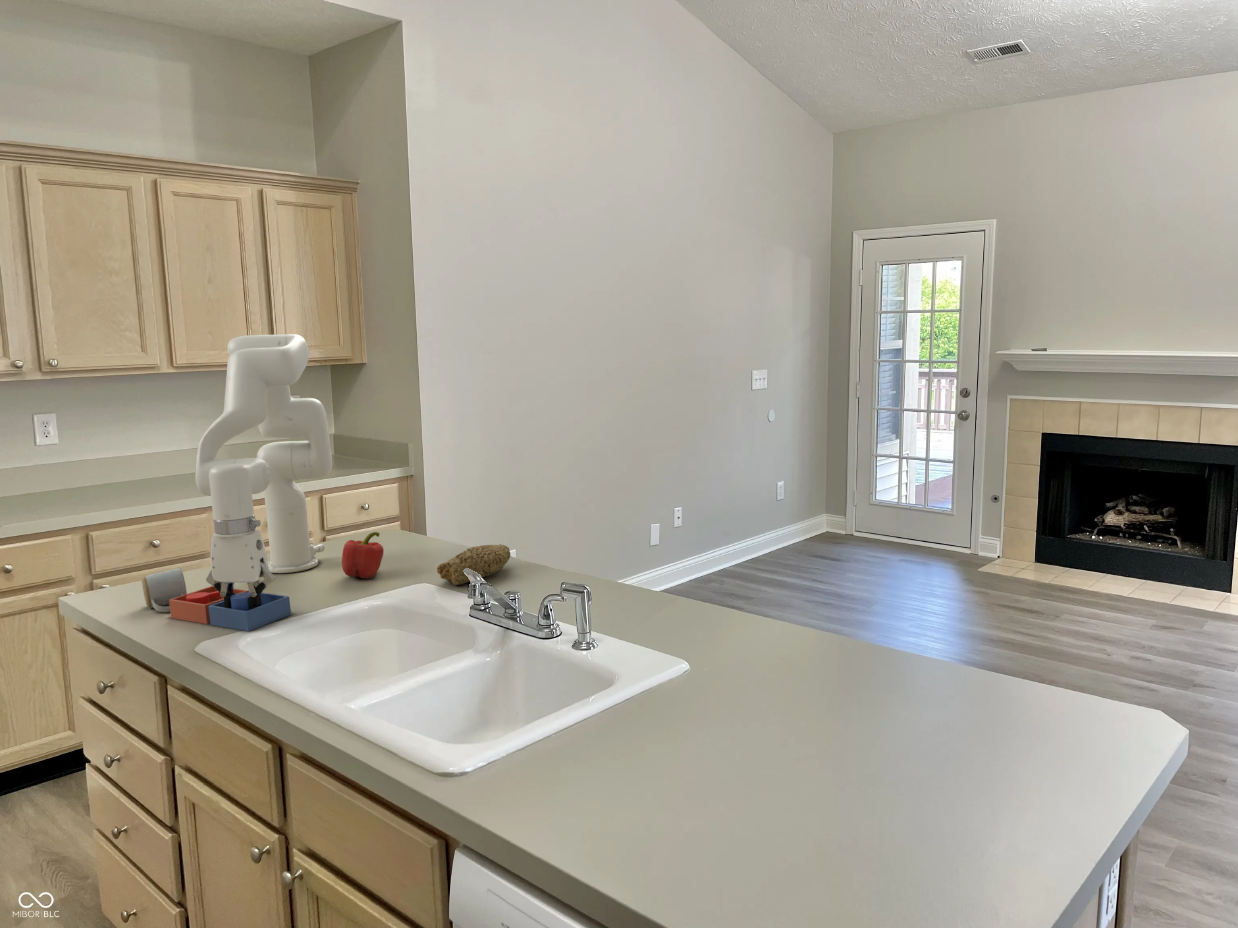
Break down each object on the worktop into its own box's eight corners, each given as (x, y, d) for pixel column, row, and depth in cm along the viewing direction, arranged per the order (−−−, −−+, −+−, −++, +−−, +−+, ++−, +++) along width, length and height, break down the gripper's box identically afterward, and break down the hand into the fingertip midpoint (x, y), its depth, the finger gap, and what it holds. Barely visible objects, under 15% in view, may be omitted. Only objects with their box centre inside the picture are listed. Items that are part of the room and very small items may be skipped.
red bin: (215, 602, 201) (213, 585, 200) (250, 608, 196) (248, 590, 195) (171, 617, 191) (168, 599, 190) (206, 624, 186) (204, 605, 185)
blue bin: (253, 608, 195) (252, 590, 195) (291, 614, 190) (289, 596, 190) (210, 624, 185) (208, 605, 185) (248, 631, 180) (246, 611, 180)
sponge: (463, 594, 204) (531, 558, 216) (452, 562, 202) (520, 528, 215) (434, 593, 214) (500, 559, 226) (423, 563, 212) (490, 530, 225)
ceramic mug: (143, 604, 201) (139, 570, 200) (184, 596, 206) (180, 564, 204) (149, 617, 193) (145, 582, 191) (191, 609, 197) (188, 574, 196)
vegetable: (369, 567, 225) (365, 528, 224) (397, 573, 219) (394, 532, 218) (332, 578, 216) (328, 537, 215) (360, 584, 210) (356, 542, 209)
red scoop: (191, 618, 189) (189, 599, 188) (184, 613, 192) (182, 595, 191) (236, 607, 195) (235, 589, 194) (229, 603, 198) (227, 585, 197)
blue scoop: (248, 617, 183) (246, 598, 182) (227, 617, 183) (225, 598, 183) (271, 603, 192) (269, 585, 191) (251, 603, 192) (249, 585, 192)
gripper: (283, 521, 185) (292, 608, 188) (206, 522, 187) (215, 608, 190) (265, 529, 178) (274, 620, 180) (184, 530, 180) (194, 619, 182)
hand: (243, 612), depth 185 cm, fingers closed on blue scoop, 4 cm apart
